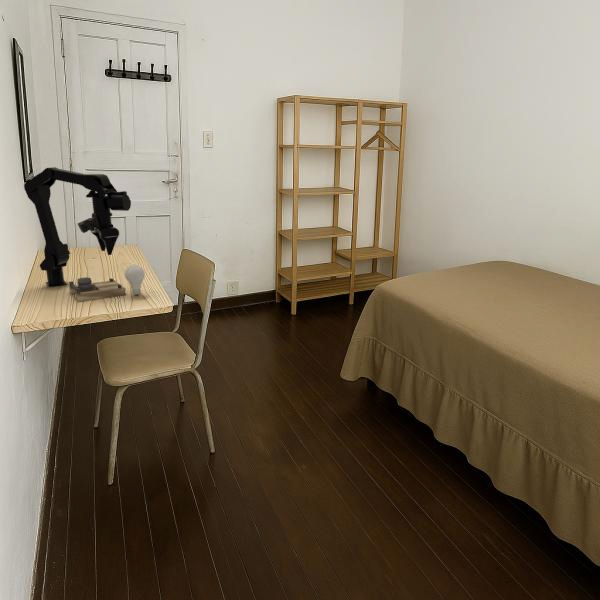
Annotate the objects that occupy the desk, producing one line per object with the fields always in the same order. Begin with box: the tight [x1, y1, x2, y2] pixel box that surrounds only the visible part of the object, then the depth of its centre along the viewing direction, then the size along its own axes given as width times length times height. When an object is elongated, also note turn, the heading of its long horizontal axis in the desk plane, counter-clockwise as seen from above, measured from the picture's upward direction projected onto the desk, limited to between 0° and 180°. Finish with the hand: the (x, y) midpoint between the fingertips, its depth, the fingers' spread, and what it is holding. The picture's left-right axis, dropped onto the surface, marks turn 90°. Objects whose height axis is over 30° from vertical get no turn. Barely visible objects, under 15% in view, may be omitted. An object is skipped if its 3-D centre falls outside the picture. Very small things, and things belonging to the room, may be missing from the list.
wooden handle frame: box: [68, 278, 127, 303], centre depth 188 cm, size 14×16×4 cm
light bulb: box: [124, 264, 146, 296], centre depth 185 cm, size 7×7×11 cm
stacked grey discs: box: [76, 276, 93, 293], centre depth 186 cm, size 5×5×6 cm
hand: (106, 252), depth 194 cm, fingers open, 9 cm apart
